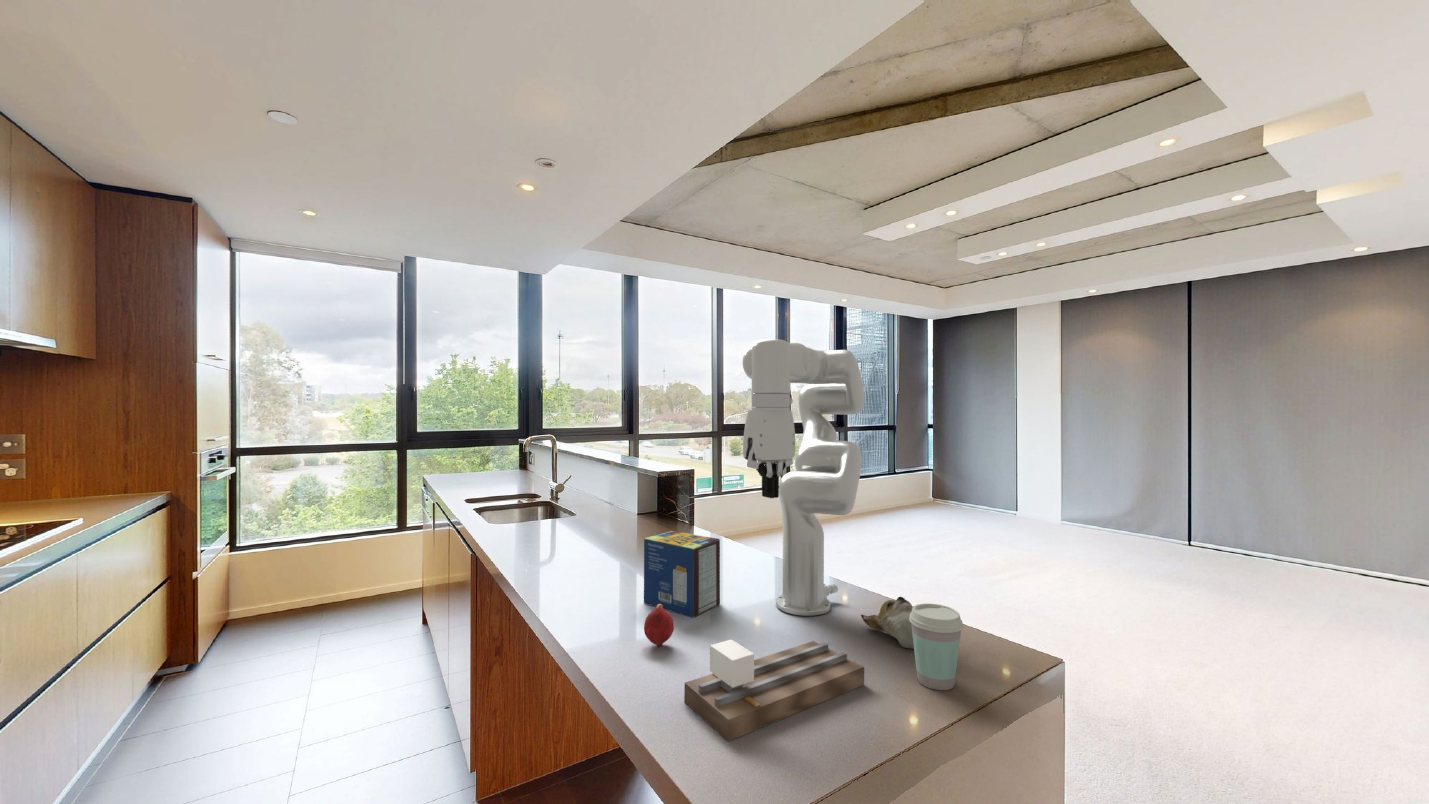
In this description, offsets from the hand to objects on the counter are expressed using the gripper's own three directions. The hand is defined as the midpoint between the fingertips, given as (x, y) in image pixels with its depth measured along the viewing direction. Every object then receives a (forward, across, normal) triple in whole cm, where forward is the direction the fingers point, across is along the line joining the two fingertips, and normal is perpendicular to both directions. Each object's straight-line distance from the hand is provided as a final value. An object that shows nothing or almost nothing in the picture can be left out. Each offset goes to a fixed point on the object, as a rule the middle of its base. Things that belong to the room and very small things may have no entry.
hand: (770, 496), depth 105 cm
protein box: (+29, +3, -29) cm, 41 cm away
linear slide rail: (+29, +10, +14) cm, 34 cm away
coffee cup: (+29, -15, +26) cm, 42 cm away
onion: (+29, +18, -12) cm, 36 cm away
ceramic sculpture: (+30, -25, +11) cm, 40 cm away
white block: (+26, +19, +14) cm, 35 cm away
